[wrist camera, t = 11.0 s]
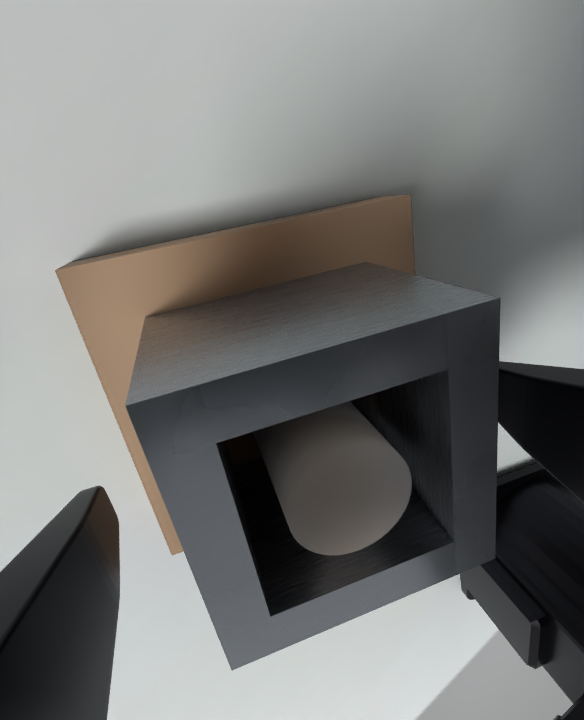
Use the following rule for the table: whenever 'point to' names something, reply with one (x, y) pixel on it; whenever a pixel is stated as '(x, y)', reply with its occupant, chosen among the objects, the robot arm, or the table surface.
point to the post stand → (283, 440)
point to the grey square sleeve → (307, 395)
